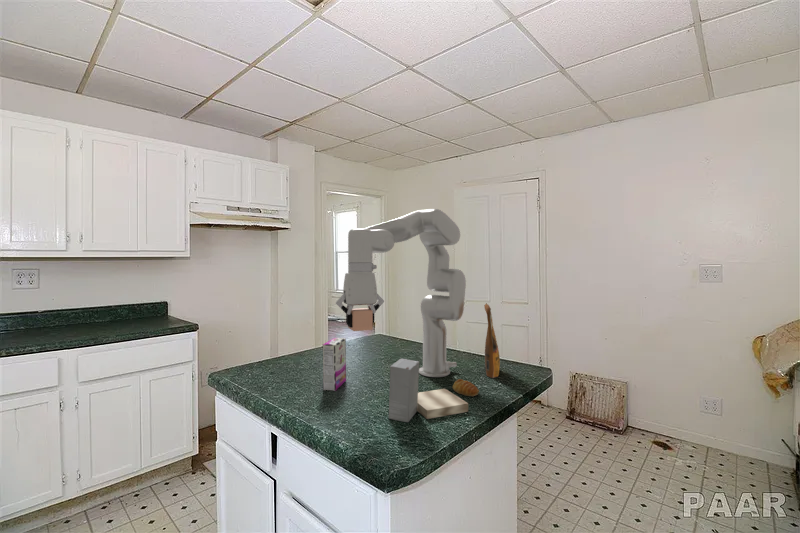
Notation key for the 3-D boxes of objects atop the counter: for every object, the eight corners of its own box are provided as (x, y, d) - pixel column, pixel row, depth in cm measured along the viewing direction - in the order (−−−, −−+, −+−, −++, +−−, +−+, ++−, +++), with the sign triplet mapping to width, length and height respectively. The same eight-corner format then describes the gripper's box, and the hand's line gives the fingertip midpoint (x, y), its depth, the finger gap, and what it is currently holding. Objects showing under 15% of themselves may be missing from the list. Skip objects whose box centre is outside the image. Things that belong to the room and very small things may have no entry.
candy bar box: (333, 380, 141) (334, 337, 141) (346, 381, 140) (346, 337, 140) (321, 390, 130) (322, 343, 130) (335, 391, 129) (335, 344, 129)
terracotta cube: (366, 326, 121) (366, 308, 121) (372, 329, 115) (372, 310, 115) (348, 327, 119) (348, 308, 118) (353, 331, 113) (353, 311, 113)
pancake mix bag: (481, 378, 145) (481, 306, 144) (484, 365, 163) (484, 301, 162) (499, 380, 143) (500, 307, 142) (500, 366, 161) (500, 301, 161)
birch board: (444, 395, 126) (444, 388, 126) (468, 411, 113) (468, 403, 113) (407, 401, 120) (407, 394, 120) (427, 419, 108) (427, 410, 108)
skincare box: (398, 408, 115) (398, 357, 115) (420, 412, 112) (420, 360, 112) (387, 419, 107) (387, 364, 107) (410, 423, 104) (410, 367, 104)
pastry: (483, 395, 128) (483, 384, 128) (470, 399, 124) (470, 388, 124) (463, 387, 135) (463, 376, 135) (450, 391, 131) (450, 380, 131)
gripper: (382, 268, 123) (381, 322, 124) (330, 268, 117) (330, 326, 117) (390, 268, 116) (390, 326, 117) (335, 269, 110) (336, 330, 110)
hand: (360, 325), depth 117 cm, fingers closed on terracotta cube, 6 cm apart
